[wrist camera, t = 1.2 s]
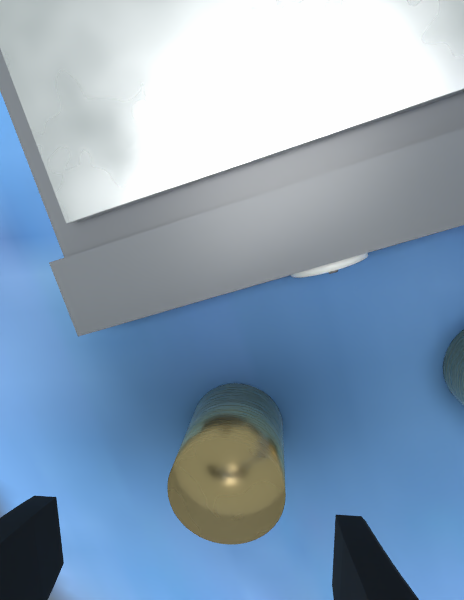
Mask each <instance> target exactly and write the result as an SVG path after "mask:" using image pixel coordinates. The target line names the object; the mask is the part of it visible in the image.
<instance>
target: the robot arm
mask: <svg viewBox="0 0 464 600" xmlns="http://www.w3.org/2000/svg"><path fill="white" fill-rule="evenodd" d="M63 563H64V562H63V553H62V544H61V535H60V527H59V518H58V509H57V500H56V497H46V496H33V497H32V498H30V499H28V500H27V501H25V502H23V503H22V504H20V505H19V506H17V507H16V508H14V509H13V510H11V511H10V512H8V513H7V514H5V515H4V516H2V517H1V518H0V600H48V598H49V595H50V593H51V591H52V589H53V587H54V584H55V582H56V580H57V577H58V575H59V573H60V570H61V568H62V566H63ZM332 587H333V596H334V600H419V599H418V598H417V596H416V595H415V594H414V592H413V591H412V589H411V588H410V587H409V585H408V584H407V583H406V581H405V580H404V579H403V577H402V576H401V574H400V573H399V572H398V570H397V569H396V567H395V566H394V564H393V563H392V561H391V560H390V558H389V557H388V555H387V554H386V553H385V551H384V550H383V548H382V546H381V545H380V543H379V542H378V540H377V539H376V537H375V536H374V534H373V532H372V531H371V529H370V527H369V526H368V524H367V522H366V521H365V520H364V519H363V518H362V517H361V516H347V515H336V520H335V540H334V559H333V579H332Z"/></svg>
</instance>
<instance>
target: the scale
mask: <svg viewBox="0 0 464 600" xmlns="http://www.w3.org/2000/svg"><path fill="white" fill-rule="evenodd" d="M0 91H1V94H2V96H3V99H4V101H5V104H6V107H7V109H8V112H9V114H10V117H11V120H12V122H13V125H14V127H15V130H16V133H17V135H18V138H19V141H20V143H21V146H22V148H23V151H24V154H25V156H26V159H27V161H28V164H29V167H30V169H31V172H32V174H33V177H34V180H35V182H36V185H37V187H38V190H39V193H40V195H41V198H42V200H43V203H44V206H45V208H46V211H47V213H48V216H49V219H50V221H51V224H52V226H53V229H54V232H55V234H56V237H57V239H58V242H59V245H60V247H61V250H62V252H63V255H64V258H62V259H59V260H56V261H53V262H50V263H49V264H50V266H51V269H52V271H53V274H54V276H55V279H56V281H57V284H58V286H59V289H60V292H61V294H62V297H63V299H64V302H65V304H66V307H67V309H68V312H69V315H70V317H71V320H72V322H73V325H74V327H75V330H76V332H77V335H78V336H81V335H85V334H88V333H92V332H95V331H99V330H102V329H105V328H109V327H112V326H116V325H119V324H123V323H126V322H130V321H133V320H137V319H140V318H144V317H147V316H150V315H154V314H157V313H161V312H164V311H168V310H171V309H175V308H178V307H182V306H185V305H189V304H192V303H195V302H199V301H202V300H206V299H209V298H213V297H216V296H220V295H223V294H227V293H230V292H234V291H237V290H240V289H244V288H247V287H251V286H254V285H258V284H261V283H265V282H268V281H272V280H275V279H279V278H282V277H285V276H289V275H291V276H292V277H294V278H300V277H309V276H314V275H319V274H323V273H327V272H328V273H329V274H331V273H334V272H338V269H341V268H344V267H347V266H350V265H353V264H355V263H358V262H360V261H362V260H364V259H365V258H367V257H368V252H372V251H375V250H379V249H382V248H386V247H389V246H393V245H396V244H400V243H403V242H407V241H410V240H413V239H417V238H420V237H424V236H427V235H431V234H434V233H438V232H441V231H445V230H448V229H452V228H455V227H458V226H462V225H464V0H0Z"/></svg>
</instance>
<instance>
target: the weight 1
mask: <svg viewBox="0 0 464 600" xmlns="http://www.w3.org/2000/svg"><path fill="white" fill-rule="evenodd" d="M168 497H169V501H170V504H171V507H172V509H173V511H174V513H175V514H176V516H177V518H178V519H179V520H180V521H181V523H182V524H183V525H184V526H185V527H186V528H188V529H189V530H190V531H192V532H193V533H194V534H196V535H198V536H199V537H202V538H204V539H206V540H209V541H212V542H216V543H220V544H241V543H246V542H250V541H253V540H255V539H258V538H259V537H261V536H263V535H265V534H266V533H267V532H269V531H270V530H271V529H272V528H273V527H274V526H275V524H276V523H277V522H278V520H279V518H280V517H281V515H282V512H283V509H284V505H285V471H284V444H283V422H282V417H281V414H280V411H279V409H278V407H277V405H276V404H275V403H274V401H273V400H272V399H271V398H270V397H269V396H268V395H267V394H266V393H264V392H263V391H261V390H259V389H257V388H255V387H253V386H250V385H246V384H238V383H233V384H226V385H222V386H219V387H216V388H214V389H213V390H211V391H209V392H208V393H207V394H206V395H205V396H204V397H203V398H202V399H201V400H200V402H199V403H198V405H197V407H196V409H195V412H194V414H193V417H192V419H191V422H190V424H189V427H188V429H187V432H186V434H185V437H184V439H183V442H182V444H181V447H180V449H179V452H178V454H177V457H176V459H175V462H174V464H173V467H172V469H171V472H170V475H169V478H168Z"/></svg>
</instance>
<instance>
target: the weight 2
mask: <svg viewBox="0 0 464 600" xmlns="http://www.w3.org/2000/svg"><path fill="white" fill-rule="evenodd" d="M443 374H444V379H445V382H446V384H447V386H448V388H449V390H450V391H451V393H452V394H453V395H454V396H455V397H456V398H457V399H458V400H459V401H460V402H461V403H462V404H463V405H464V330H462V331H461V332H460V333H459V334H458V335H457V336H456V337H455V338H454V339H453V341H452V342H451V344H450V345H449V347H448V349H447V351H446V354H445V357H444V362H443Z"/></svg>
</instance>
